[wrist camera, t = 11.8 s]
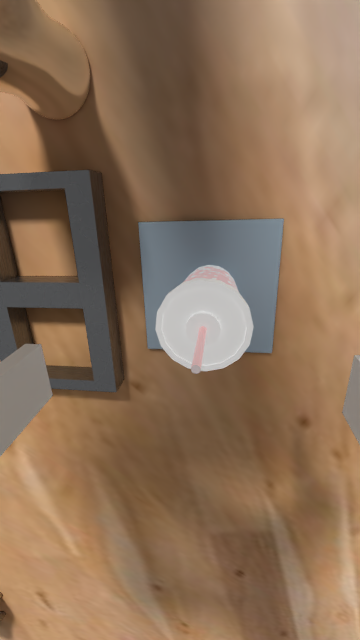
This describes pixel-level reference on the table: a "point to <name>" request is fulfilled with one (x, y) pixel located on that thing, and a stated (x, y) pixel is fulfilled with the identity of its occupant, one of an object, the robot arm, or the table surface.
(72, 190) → the dark grey slotted frame
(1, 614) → the lion figurine
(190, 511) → the table surface
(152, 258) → the slate mat
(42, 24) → the silver metal tumbler
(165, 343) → the beverage cup
